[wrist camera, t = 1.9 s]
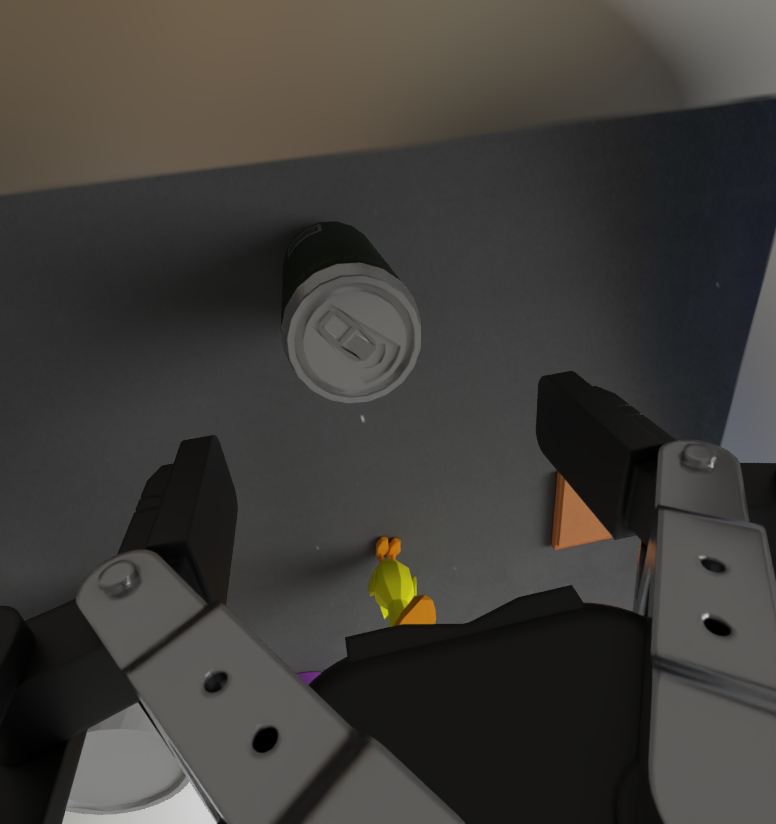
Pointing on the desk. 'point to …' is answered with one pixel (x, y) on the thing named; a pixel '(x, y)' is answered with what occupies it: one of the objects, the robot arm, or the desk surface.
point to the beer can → (346, 315)
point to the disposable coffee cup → (124, 767)
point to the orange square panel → (574, 519)
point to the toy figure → (398, 589)
